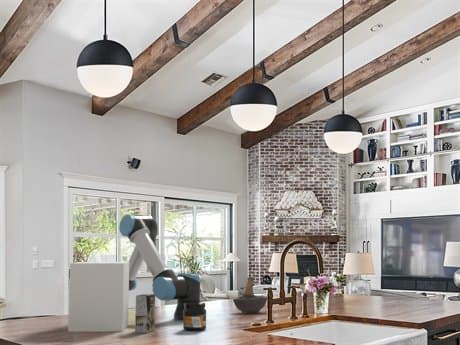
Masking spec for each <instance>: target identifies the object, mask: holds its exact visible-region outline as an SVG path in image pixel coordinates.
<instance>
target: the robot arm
mask: <svg viewBox="0 0 460 345" xmlns="http://www.w3.org/2000/svg"><path fill="white" fill-rule="evenodd" d="M118 227H119V230H118V231H119V233H120V235H121V236H123V237H127V238H128V241H129V242H130V243H132V244H134V245H135V246H134V248H133V251H132V253H131V255H130V258H129V260H128V262H129V292H130V291H133V290H135V289H136V288H137V280H136V277H137V276H138V273H139V271H140V270H141V267H142V264H143V262H144V263H145V264H146V266H147V267H148V270H149V272H150V273H151V275H152V277H153V279H152V285H151V286H152V287H151V288H152V292H153V293H152V294H155V298H157V299H158V300H160V301H164V302H165V301H166V302H170V301H176V302H177V303H176V307H175V311H174V314H173V320H175V321H183V310H184V309H185V307H184V304H185V303H188V302H201V301H200V300H201V278H200V275H199V274H195V273H194V274H193V273H185V272H179V273H177V275H176V273H175V272H174V270H173V269H171V268H168V265H167V264H166V262H165V260H164V258H163V257H162V255H161V253H160V252H159V250H158V248H157V247H156V245H155V244H154V242H155V241H156V240H157V236H158V232H159V227H158V222H157V221H156V219H155V218H154V217H153V216H152V215H149V214H133V213H131V214H125V215H124V216H123V217H121V218H120V221H119V226H118Z"/></svg>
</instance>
